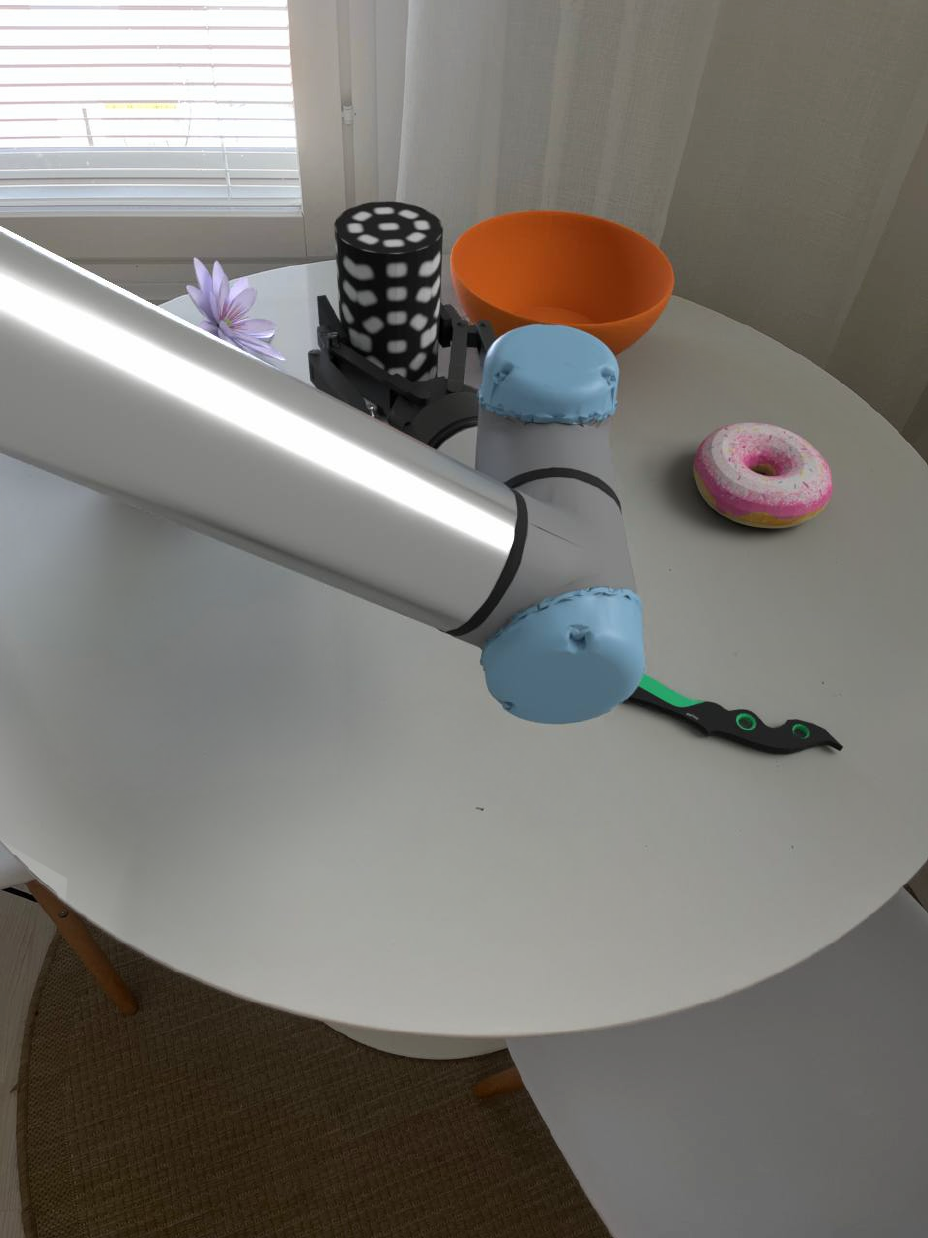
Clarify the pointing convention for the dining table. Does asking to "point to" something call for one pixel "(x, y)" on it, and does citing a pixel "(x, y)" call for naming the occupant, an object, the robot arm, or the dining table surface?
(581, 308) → the bowl
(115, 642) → the dining table surface
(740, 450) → the donut
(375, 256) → the white-spotted black cylinder
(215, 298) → the water lily
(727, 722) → the knife
